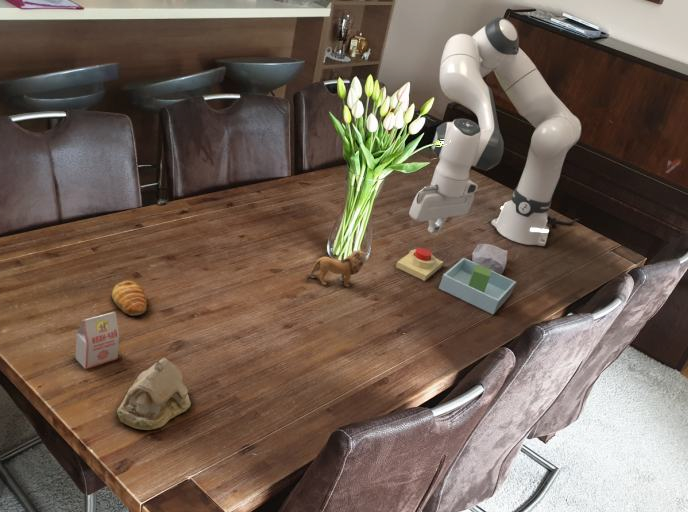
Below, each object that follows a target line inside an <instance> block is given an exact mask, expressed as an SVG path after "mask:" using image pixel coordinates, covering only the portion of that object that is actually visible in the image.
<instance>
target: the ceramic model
mask: <svg viewBox="0 0 688 512" xmlns="http://www.w3.org/2000/svg"><path fill="white" fill-rule="evenodd" d="M183 382H184V377H183V375H182V372H181V371H180V370H179V368H178V366H177V365H176V364H174V363H172V362H171V361H170V360H168V358H166V357H162V358H161V359H160V360H158V361H156V362H155V363H154V364H153V365H151V366H150V367H149V368H148V369H146V370H143V371H142V372H141V373H140V374H139V375H138V376H137V377H136V379H135V380H134V383H133V384H132V386H130V388H129V389H128V390H127V393H126V394H125V396H124V399H123V400H122V402H121V404H120V405H119V407H118V408H117V410H116V414H117V416H118V419H119V421H120V422H121V423H122V424H124V425H127V426H128V427H131V428H133V429H137V430H144V431H151V430H156V429H160V428H162V427H164V426H165V425H167V423H168V422H169V421H170V420H171V419H173V418H175V417H177V416H178V415H180V414H182V413H184V412H187V410H188V409H189V408H190V407H191V404H192V403H191V399H190V396H189V394H188V393H189V389H188V387H187V386H186V385H185V384H184V383H183Z"/></svg>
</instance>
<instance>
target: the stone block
mask: <svg viewBox="0 0 688 512" xmlns="http://www.w3.org/2000/svg"><path fill="white" fill-rule="evenodd" d="M507 255H508V250H506V249H502V248H501V247H498V246H496V245H494V244H490V243H479V244H477V245H476V247H475V248H474V250H473V252H472V257H471V258H472V259H471V261H472V262H474V263H476V264H479V265H481V266H483V267H486V268H489V269H492V271H494V272H496V273H498V274H500V275H502V274H503V273H504V271H505V268H506V265H507V261H508V257H507Z"/></svg>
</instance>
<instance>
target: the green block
mask: <svg viewBox="0 0 688 512" xmlns="http://www.w3.org/2000/svg"><path fill="white" fill-rule="evenodd" d="M491 270H492V269H489V268H486V267H483V266H480V265H477V264H476V265H475V267H474V270H473V273H472V275H471V278H470V281H469V284H468V286H471V287H473V288H475V289H477V290H479V291H481V292H483V293H484V291H485V289H486V286H487V284H488V281H489V279H490V275H491Z"/></svg>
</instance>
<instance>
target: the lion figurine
mask: <svg viewBox="0 0 688 512" xmlns="http://www.w3.org/2000/svg"><path fill="white" fill-rule="evenodd" d="M366 254H367V253H365V252H364V251H363V250H360V249H357V250H353V251H352V252H351V254H349V255H348V256H347V257H346V258H344V259H334V258H331V257H329V256H322V257H320V258H318V259H317V260H316V261H315V262H314V264H313V266H312V269H311V271H310V273H309V275H308V276H307V277H306V278H305V280H307V281H308V280H310V279H311V278H312V279H315V277H316V275H315V273H316V272H318V271H320V276H319V279H320V283H321V285H322V286H327V281H325V277H326V275H328V272H329V271H330V272H331V273H332V274H335V275H340V277H339V280H340V281H341V282H343V283H344V286H345V287H346V288H349V287H350V283H349V281H350V279H351V276H352V275H356V274H359V272H360V270H362V268H363V266H364V265H365V264H366V256H367V255H366Z"/></svg>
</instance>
